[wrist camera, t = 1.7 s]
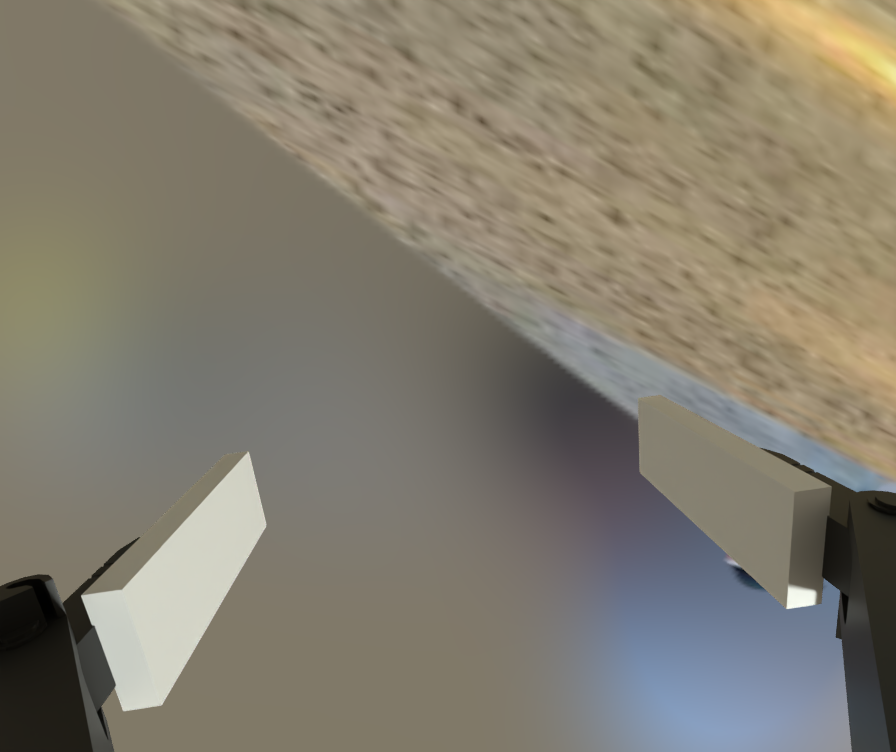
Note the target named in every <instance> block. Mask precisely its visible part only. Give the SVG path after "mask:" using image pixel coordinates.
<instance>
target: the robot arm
mask: <svg viewBox="0 0 896 752" xmlns="http://www.w3.org/2000/svg"><path fill="white" fill-rule="evenodd" d="M638 414H639V459H640V460H639V461H640V473H641V474H642V475H643V476H644V477H645V478H646V479H647V480H648V481H650V482H651V483H652V484H653V485H654V486H655V487H656V488H657V489H658V490H659V491H660V492H661V493H662V494H664V495H665V496H666V497H667V498H668V499H669V500H670V501H671V502H672V503H673V504H674V505H675V506H676V507H677V508H678V509H680V510H681V511H682V512H683V513H684V514H685V515H686V516H687V517H688V518H689V519H690V520H691V521H693V522H694V523H695V524H696V525H697V526H698V527H699V528H700V529H701V530H702V531H703V532H704V533H705V534H706V535H708V536H709V537H710V538H711V539H712V540H713V541H714V542H715V543H716V544H717V545H718V546H719V547H720V548H721V549H723V550H724V551H725V552H726V553H727V554H728V555H729V556H730V557H731V558H732V559H733V560H734V561H735V562H737V563H738V564H739V565H740V566H741V567H742V568H743V569H744V570H745V571H746V572H747V573H748V574H749V575H751V576H752V577H753V578H754V579H755V580H756V581H757V582H758V583H759V584H760V585H761V586H762V587H763V588H764V589H766V590H767V591H768V592H769V593H770V594H771V595H772V596H773V597H774V598H775V599H776V600H778V602H780V603H781V604H782V605H783V606H784V607H785V608H786V609H790V608H797V607H803V606H810V605H817V604H821V601H822V591H823V579H824V578H825V579H826V580H827V581H828V582H830V583H831V584H832V585H833V586H835V587H836V588H837V589H839V590H840V600H839V610H838V619H837V629H836V638H839V639H842V648H843V658H844V670H845V681H846V692H847V703H848V713H849V725H850V736H851V746H852V752H896V493H892V492H884V491H860V492H855V491H853V490H851V489H849V488H847V487H845V486H843V485H841V484H839V483H837V482H836V481H834V480H832V479H830V478H828V477H826V476H824V475H822V474H820V473H818V472H816V473H815V472H814V470H812V469H810V468H808V467H806V466H805V465H800V463H799V462H797V461H795V460H793V459H791V458H789V457H787V456H785V455H783V454H780V453H777V452H773V451H770V450H767V449H763V448H758V447H757V446H755V445H753V444H751V443H749V442H747V441H745V440H743V439H742V438H740V437H738V436H736V435H734V434H732V433H730V432H728V431H727V430H725V429H723V428H721V427H719V426H717V425H715V424H713V423H712V422H710V421H708V420H706V419H704V418H702V417H700V416H698V415H697V414H695V413H693V412H691V411H689V410H687V409H685V408H683V407H682V406H680V405H678V404H676V403H674V402H672V401H670V400H668V399H667V398H665V397H663V396H661V395H658V396H650V397H643V398H638ZM265 527H266V521H265V517H264V513H263V509H262V505H261V501H260V496H259V492H258V488H257V484H256V480H255V476H254V472H253V468H252V464H251V459H250V455H249V452H248V451H247V452H240V453H232V454H225V455H224V456H223V457H222V458H221V459H220V460H219V461H218V462H217V463H216V464H215V465H214V466H213V467H212V468H211V469H210V470H209V471H208V472H207V473H206V474H205V475H204V476H203V477H202V478H201V479H200V480H199V481H197V482H196V483H195V484H194V485H193V486H192V487H191V488H190V489H189V490H188V491H187V492H186V493H185V494H184V495H183V496H182V497H181V498H180V499H179V500H178V501H177V502H176V503H175V504H174V505H173V506H172V507H171V508H170V509H169V510H168V511H167V512H166V513H165V514H164V515H163V516H162V517H161V518H160V519H159V520H158V521H157V522H156V523H155V524H154V525H152V526H151V527H150V528H149V530H147V531H146V532H145V533H144V534H143V535H142V536H141V537H139V538H137V539H135V540H134V541H132V542H131V543H129V544H128V545H126V546H124V547H123V548H121V549H120V550H118V551H117V552H116V553H115V554H114V555H113V556H112V557H111V558H110V559H109V560H108V561H107V562H106V563H104V567H101V568H99V569H98V570H97V571H96V572H95V573H94V574H93V575H92V578H90V579H88V580H87V581H86V582H85V583H83V584H82V585H81V586H80V587H79V588H78V589H77V590H76V591H75V592H74V593H73V594H72V595H71V596H70V597H69V598H68V599H67V600H65V601H64V602H63V603H62V602H61V599H60V597H59V594H58V591H57V589H56V586H55V583H54V581H53V579H52V578H51V577H50V576H49V575H33V576H28V577H24V578H21V579H18V580H15V581H12V582H9V583H6V584H4V585H2V586H0V752H114V749H113V744H112V740H111V737H110V732H109V728H108V724H107V720H106V717H105V715H104V712H103V710H102V707H101V706H102V705H103V703H104V702H105V700H106V699H107V698H108V696H109V695H110V693H111V692H112V690H113V689H114V688H115V690H116V692H117V695H118V697H119V701H120V703H121V706H122V709H123V711H128V710H134V709H141V708H147V707H153V706H160V705H162V704H163V702H164V700H165V698H166V697H167V695H168V694H169V692H170V690H171V689H172V686H173V685H174V683H175V682H176V680H177V678H178V676H179V675H180V673H181V671H182V670H183V668H184V666H185V664H186V663H187V661H188V659H189V658H190V656H191V654H192V652H193V651H194V649H195V647H196V646H197V644H198V642H199V640H200V639H201V637H202V635H203V634H204V632H205V630H206V628H207V627H208V625H209V623H210V622H211V620H212V618H213V616H214V615H215V613H216V611H217V610H218V608H219V606H220V604H221V603H222V601H223V599H224V598H225V596H226V594H227V592H228V591H229V589H230V587H231V586H232V584H233V582H234V580H235V579H236V577H237V575H238V573H239V572H240V570H241V568H242V567H243V565H244V563H245V561H246V560H247V558H248V556H249V555H250V553H251V551H252V549H253V548H254V546H255V544H256V543H257V541H258V539H259V537H260V536H261V534H262V532H263V531H264V529H265Z"/></svg>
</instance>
